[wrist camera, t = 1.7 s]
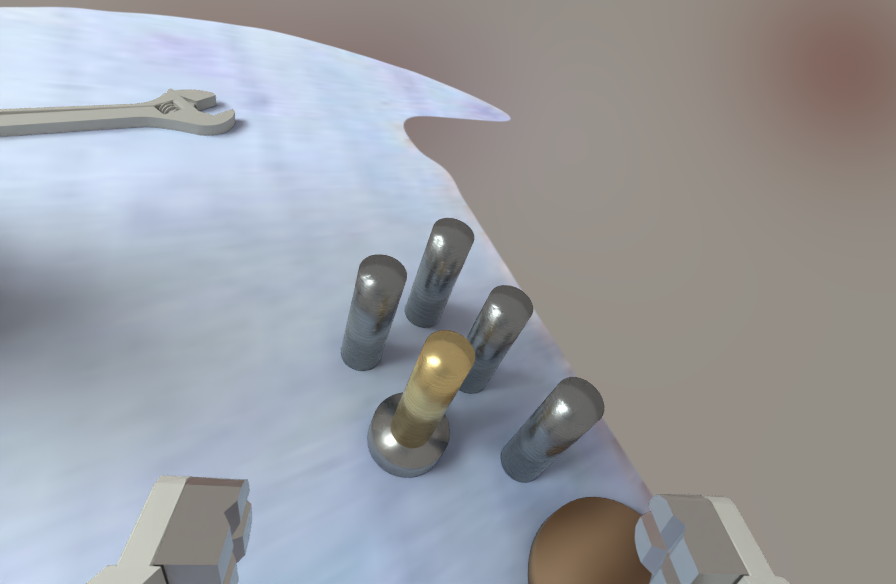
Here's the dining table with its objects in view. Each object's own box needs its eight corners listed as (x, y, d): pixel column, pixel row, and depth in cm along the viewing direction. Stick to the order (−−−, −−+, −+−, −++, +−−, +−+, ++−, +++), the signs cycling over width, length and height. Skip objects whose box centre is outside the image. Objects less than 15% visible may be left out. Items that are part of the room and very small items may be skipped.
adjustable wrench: (-82, 148, 43) (-93, 130, 42) (-75, 103, 47) (-85, 85, 45) (237, 137, 55) (236, 123, 53) (225, 101, 58) (224, 87, 57)
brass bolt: (352, 429, 38) (381, 336, 29) (411, 392, 41) (454, 298, 32) (398, 493, 36) (444, 415, 27) (457, 449, 39) (515, 366, 30)
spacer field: (541, 485, 39) (607, 428, 32) (317, 444, 36) (332, 371, 29) (533, 324, 49) (582, 252, 42) (357, 283, 46) (376, 198, 39)
